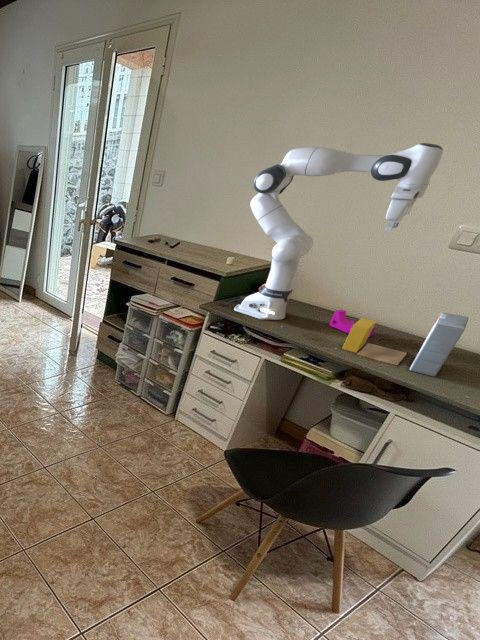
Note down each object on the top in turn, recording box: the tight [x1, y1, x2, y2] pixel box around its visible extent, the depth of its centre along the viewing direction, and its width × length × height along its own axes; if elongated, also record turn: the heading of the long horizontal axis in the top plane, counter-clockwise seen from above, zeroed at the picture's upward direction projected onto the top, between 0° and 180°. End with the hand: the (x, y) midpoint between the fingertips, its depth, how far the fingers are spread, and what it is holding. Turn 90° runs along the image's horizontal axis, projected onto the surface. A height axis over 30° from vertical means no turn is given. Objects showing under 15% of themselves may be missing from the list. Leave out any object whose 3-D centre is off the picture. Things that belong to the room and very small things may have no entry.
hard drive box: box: [409, 311, 469, 377], centre depth 160 cm, size 16×8×20 cm, turn 131°
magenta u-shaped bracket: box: [328, 309, 377, 338], centre depth 193 cm, size 15×6×8 cm, turn 12°
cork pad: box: [355, 342, 408, 367], centre depth 175 cm, size 13×16×1 cm
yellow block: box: [341, 317, 377, 354], centre depth 179 cm, size 5×12×11 cm, turn 128°
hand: (391, 229), depth 169 cm, fingers open, 8 cm apart
